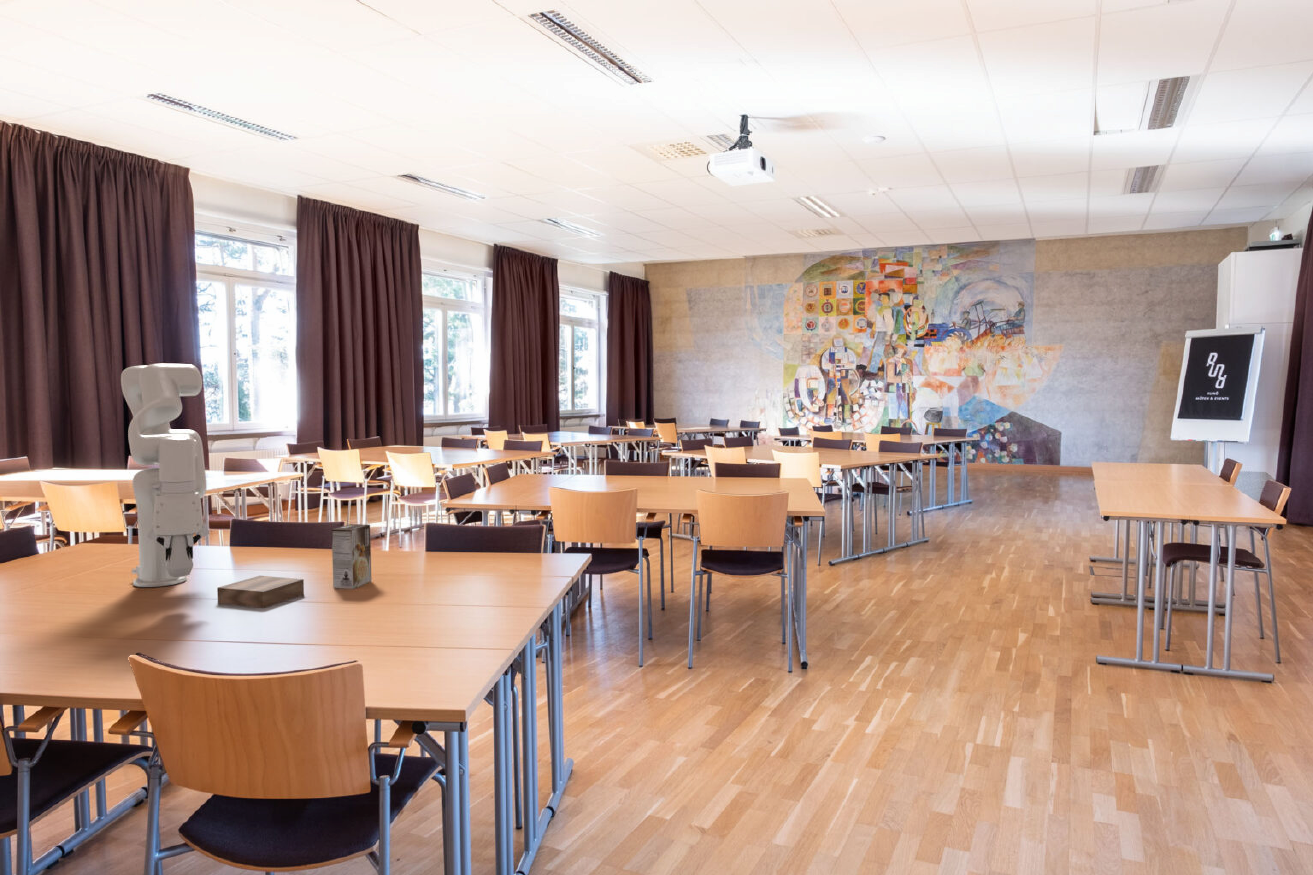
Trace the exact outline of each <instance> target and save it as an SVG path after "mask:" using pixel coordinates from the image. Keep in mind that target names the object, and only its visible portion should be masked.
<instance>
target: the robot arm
mask: <svg viewBox="0 0 1313 875" xmlns="http://www.w3.org/2000/svg"><path fill="white" fill-rule="evenodd" d="M120 374H121V375H120V385H121V391H122V395H123V397H124V400H125V401H126V403H127V406H128V408H129V410H130V412H131V414H132V419H131V421H130V422H129V426H128V432H127V433H128V434H127V435H128V436H127V437H128V444H129V450H130V455H131V458H132V460H133V462H135V463H136V464H137V465H141V466H142V465H143V466H152V465H153V466H155V465H158V467H152V468H146V469H142V470H140V471H138V472H136V473H135V474H134V476H133V478H132V490H133V494H134V500H135V504H136V512H137V533H138V535H137V536H138V537H137V538H138V562H139V563H138V564H139V565H137V566H136V567H135V568H132V569H131V574H134V575H135V574H136V576H137V578H135V579H134V580H133V581H132V583H133V586H135V587H138V588H157V587H159V588H160V587H166V586H167V587H168V586H172V585H176V584H180V583H183V582H185V581H186V580H187V576H183V577H171V576H170V575H169V573H168V571H167V569H166V564H167V559H168V555H169V561H170V556H171V550H172V549H171V548H170V540H171V536H179V535H187V540H188V544H187V545H188V547H187V548H186V550H187V555H188V558H189V553H190V556H191V558H192V560H193V559H194V546H195V545H196V543H197V542H199V540H200V539H202V538H204V537H207V536H208V535H209V534H210V532H211V531H210V529H209V528H208V526H207V525H206V523H205V522H204V521H203V510H202V502H201V501H202V500H201V499H203V498H204V497H205V495H206V493H207V475H206V467H205V466H206V465H205V456H204V455H205V454H204V447H203V441H202V438H201V436H200V434H199V433H198V432H197V431H195V430H193V429H187V428H186V429H172V428H171V425H170V423H171V422H172V421H174V420H175V419H177V418H178V417H179V416H180V415H181V413H182V411H183V403H182V400H181V397H195V396H197V395H199V394H200V393H201V391H202V388H203V377H202V374H201V372H200V370H199V368H197V367H196V366H195V365H194V364H189V363H188V364H186V363H152V364H148V365H146V364H145V365H144V364H143V365H133V366H129V367H126V368H125V369H124V370H122V372H121V373H120ZM189 560H190V559H189Z"/></svg>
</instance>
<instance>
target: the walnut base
mask: <svg viewBox="0 0 1313 875" xmlns="http://www.w3.org/2000/svg"><path fill="white" fill-rule="evenodd" d="M304 585H305V583H304V579H303V578H291V577H280V576H268V575H257V576H254V577H250V578H246V579H243V580H239V581H236V582H232V583H229V584H225V585H221V586H219V587H217V590H216V591H217V604H218V603H221V604H220V605H227V606H228V605H230V606H238V607H239V606H241V607H249V608H250V607H251V608H258V609H259V608H261V609H265V608H267V607H271V606H273V605H277V604H279V603H283V602H285V601H289V600H292V599H295V598H298V597H301V596H303V595H304V594H305V590H304V589H305V586H304Z"/></svg>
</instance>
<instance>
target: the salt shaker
mask: <svg viewBox="0 0 1313 875" xmlns="http://www.w3.org/2000/svg"><path fill="white" fill-rule="evenodd" d="M187 544H188V540H187V535H179V536H171V540H170V548H171V549H172V550H171V556H170V561H169V555H168V559H167V564H166V569H167V571H168V573H169V575H170V576H171V577H183V576H186V577H187V576H190V575H191V572H192V570H193V568H194V562H193V559H192V558H191V556H190V553H189V558H188V555H187V550H186V548H187V547H188V545H187ZM189 559H190V560H189Z"/></svg>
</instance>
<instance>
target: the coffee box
mask: <svg viewBox="0 0 1313 875" xmlns="http://www.w3.org/2000/svg"><path fill="white" fill-rule="evenodd" d="M371 544H372V543H371V524H363V523H361V524H355V523H350V524H346V525H343V526H339V527H336V528H335V527H334V528H332V529H331V552H332V553H331V554H332V555H331V556H332V558H331V559H332V560H331V561H332V587H333V588H334V589H349V590H355V589H357V588H359V587H361V586H363V585H366V584H369V583H370V582H372V580H373V578H372V553H371V552H372V550H371Z"/></svg>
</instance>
